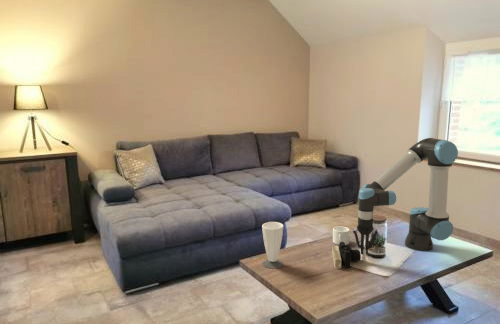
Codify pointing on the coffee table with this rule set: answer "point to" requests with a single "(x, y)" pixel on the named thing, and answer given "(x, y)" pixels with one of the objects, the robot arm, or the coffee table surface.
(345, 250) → the camera
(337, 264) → the board
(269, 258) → the cup
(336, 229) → the mug
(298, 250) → the coffee table surface
